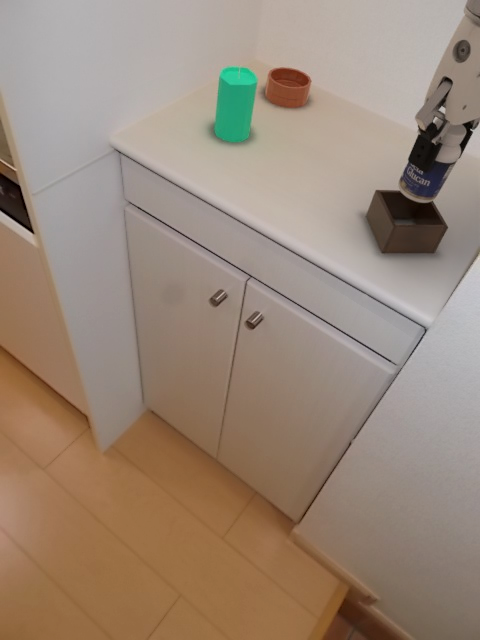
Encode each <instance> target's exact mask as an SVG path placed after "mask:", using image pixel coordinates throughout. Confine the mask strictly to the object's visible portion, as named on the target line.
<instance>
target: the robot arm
mask: <svg viewBox="0 0 480 640" xmlns="http://www.w3.org/2000/svg"><path fill="white" fill-rule="evenodd" d="M463 14H464V15H463V17H462V18H461V20H460V22H459V24H458V25H457V27H456V29H455V30H454V32H453V34H452V37H451V39H450V40H449V43H448V45H447V46H446V48H445V50H444V52H443V54H442V57H441V59H440V61H439V63H438V65H437V68H436V69H435V71H434V74H433V76H432V78H431V81H430V84H429V86H428V88H427V91H426V94H425V97H424V102H423V105H422V107H421V108H420V109H419V110H418V111H417V113H416V114H415V116H414V120H415V121H416V124H417V128H418V129H417V132H416V133H417V137H416V138H415V141H414V143H413V146H412V148H411V150H410V153H409V155H408V158H407V162H408V161H409V162H410V163H411V164H413V165H414V166H416V167H417V168H418V169H420V170H421V171H423V172H424V173H427V172H429V171H430V170H431V168H432V166H433V164H434V162H435V160H436V158H437V155H438V153H439V151H440V149H441V147H442V145H443V144H442V143H440V141H441V140H442V138H443V137H444V135H445V133H446V132H447V130H448V129H449V127H450V126H451V124H452V125H460V124H462V125H463V126H464V127H465V128H466V135H465V137H464V138H463V140H462V142H461V143H460V144H459V145H460V148H461V154H460V157H459V158H458V160H460V159H461V158H462V155H463V153H464V151H465V149H466V148H467V146H468V143H469V141H470V139H471V138H472V136H473V133H474V131H475V130H476V129H477V128H478V127H479V125H480V0H466V3H465V6H464V8H463ZM441 108H444V109H445V110H444V112H443V111H442V110H440V109H441ZM437 118H439V119H441V120H442V121H443V123H442V124H441V126H440V127H439V129H437V126H436V124H435V123H434V121H435V119H437Z"/></svg>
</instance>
